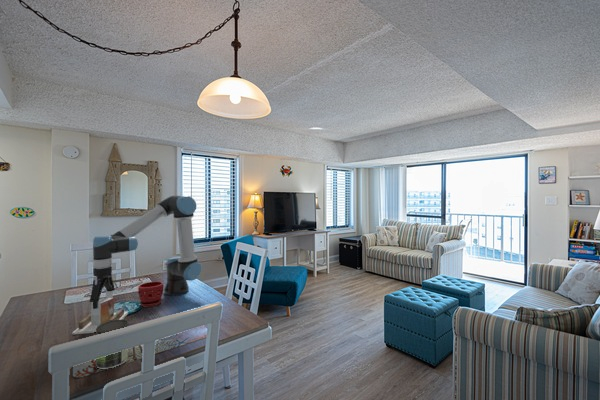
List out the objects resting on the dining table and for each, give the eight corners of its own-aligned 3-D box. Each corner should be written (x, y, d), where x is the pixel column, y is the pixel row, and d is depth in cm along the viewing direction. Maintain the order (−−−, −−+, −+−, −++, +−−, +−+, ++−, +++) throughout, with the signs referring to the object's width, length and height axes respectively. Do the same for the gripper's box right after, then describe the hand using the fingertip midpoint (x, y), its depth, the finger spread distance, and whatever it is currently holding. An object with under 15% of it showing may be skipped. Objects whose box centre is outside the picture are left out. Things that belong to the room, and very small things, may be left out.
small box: (100, 325, 134) (100, 303, 133) (90, 324, 135) (90, 302, 134) (114, 318, 141) (114, 297, 141) (105, 317, 142) (105, 296, 142)
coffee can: (108, 372, 99) (108, 333, 99) (89, 366, 103) (89, 328, 103) (134, 357, 109) (134, 321, 109) (116, 351, 112) (116, 317, 112)
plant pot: (168, 301, 167) (168, 281, 167) (150, 309, 154) (150, 288, 154) (151, 298, 171) (151, 279, 171) (132, 306, 159) (132, 286, 158)
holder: (94, 316, 146) (94, 308, 146) (128, 313, 149) (128, 306, 149) (72, 334, 126) (72, 325, 126) (111, 331, 130) (111, 322, 130)
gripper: (105, 261, 149) (106, 300, 149) (80, 274, 124) (80, 320, 125) (121, 260, 150) (121, 299, 151) (98, 273, 126) (99, 319, 126)
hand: (103, 309), depth 138 cm, fingers open, 13 cm apart
